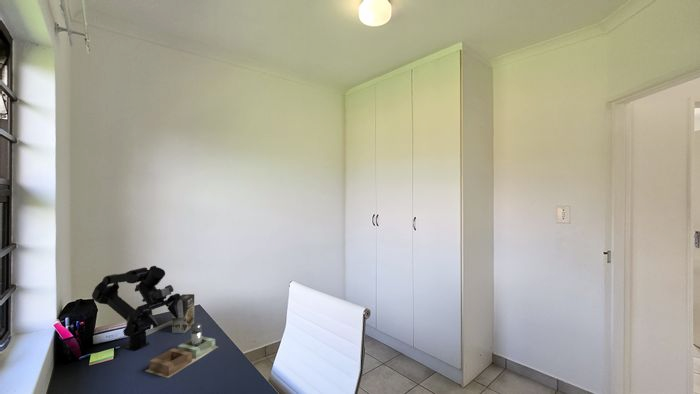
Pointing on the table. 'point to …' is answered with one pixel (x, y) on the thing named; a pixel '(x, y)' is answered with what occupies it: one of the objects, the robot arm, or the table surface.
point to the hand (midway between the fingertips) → (168, 321)
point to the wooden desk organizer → (180, 357)
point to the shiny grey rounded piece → (196, 334)
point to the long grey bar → (158, 328)
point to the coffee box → (184, 314)
